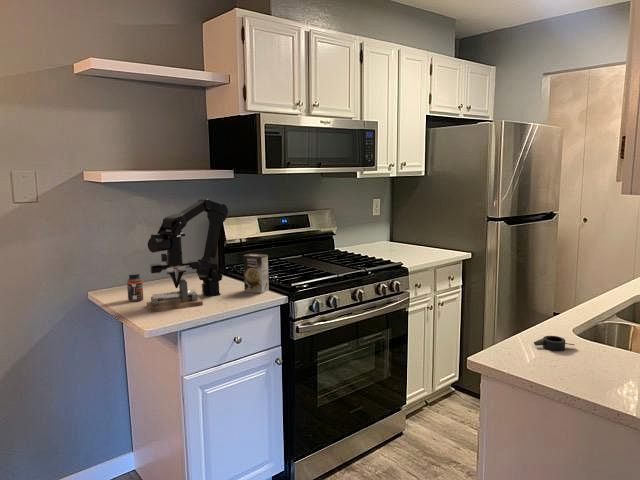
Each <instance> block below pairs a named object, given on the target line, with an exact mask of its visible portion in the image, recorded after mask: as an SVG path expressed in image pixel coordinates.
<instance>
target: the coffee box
mask: <svg viewBox="0 0 640 480" xmlns="http://www.w3.org/2000/svg"><path fill="white" fill-rule="evenodd" d="M242 256H243V282H244V283H243V284H244V290H243V291H244V292H245V293H254V294H255V293H256V294H264V293H266V292H268V291H270V289H269V260H268V259H269V255H268V254H262V253H247V254H243V255H242Z"/></svg>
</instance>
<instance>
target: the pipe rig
mask: <svg viewBox="0 0 640 480" xmlns="http://www.w3.org/2000/svg"><path fill="white" fill-rule="evenodd" d="M197 296H198V294H197V292H196V290H195V288H194V289H188V298H189V297H190V299H191V300H192V301H196V300H197ZM181 298H182V291H179V290H177V291H169V292H161V293H152V296H150V302H151V304H152V305H153V306H158V301H165V300H173V299H181Z"/></svg>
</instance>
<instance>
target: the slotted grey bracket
mask: <svg viewBox="0 0 640 480" xmlns="http://www.w3.org/2000/svg"><path fill="white" fill-rule="evenodd" d="M178 288H179V290H178V291H182V298H181V299H182V301H183V302H188V290H189V289H188V282H187V280H185V279H184V278H181V280H180V282H179V285H178Z"/></svg>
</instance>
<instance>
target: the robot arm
mask: <svg viewBox="0 0 640 480" xmlns="http://www.w3.org/2000/svg"><path fill="white" fill-rule="evenodd" d="M203 212H205V213H206V215H207V216H206V218H207V219H208V222H209V224H208V230H207V234H206V235H207V236H206V242H205V247H204V252H203V256H202V258H201V259H192V260H191V259H190V260H187V262H183V261H184V260H183V247H182V246H183V244H182V237H186V233H184V232H183V229H185V227H186V226H187V223H188V222H190V221H192V220H193V219H194V218H196V216H199V215H200V214H201V213H203ZM228 213H229V208H228V207H227V205H226V204H225V203H218V202H217V201H213V200H211V199H208V198H200V199H198V200H197V201H195V202H193V204H191V205H190V206H188V207H187V208H185V209H183V210H182V211H180V212H178V213H174V214H170V215H168V216H166V217H163V219H162V223H161V225H160V226H159V229H158V231H157V232H156V234H155V233H153V234H150V238H149V239H148V241H147V248H148V250H149V252H151V253H160V252H165V251H166V253H161V254H160V262H157V263H150V265H149V272H150V274H160V273H161V272H163V271H164V272H165V273H166V274H167V275H169V276H170V277H171V280H172V283H173V285H174V287H175V289H178V288H179V282H180V280H181V279H182V278H183V275H184V273H187V270H186V268H191V269H192V270H196V274H197V276H198V279H199V281H202V284H201V293H202V294H203V296H204V297H211V296H220V295H222V294H221V292H220V281H222V280H223V274H222V273H221V272H220V271H219V269H218V261H217V259H216V255H217V250H218V244H219V239H220V233H221V227H222V224H224V222H226V220H227V217H228ZM161 263H165V264H161ZM175 271H176V272H175Z"/></svg>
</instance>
